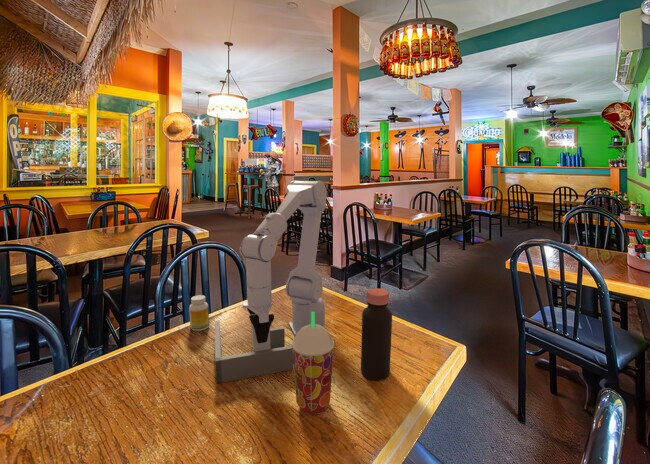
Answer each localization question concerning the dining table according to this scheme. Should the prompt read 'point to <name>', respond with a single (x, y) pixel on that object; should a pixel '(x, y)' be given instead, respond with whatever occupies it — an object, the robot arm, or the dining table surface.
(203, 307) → the supplement bottle
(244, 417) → the dining table surface
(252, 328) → the block
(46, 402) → the dining table surface
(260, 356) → the rails
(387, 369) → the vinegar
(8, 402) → the dining table surface
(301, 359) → the smoothie
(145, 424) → the dining table surface
